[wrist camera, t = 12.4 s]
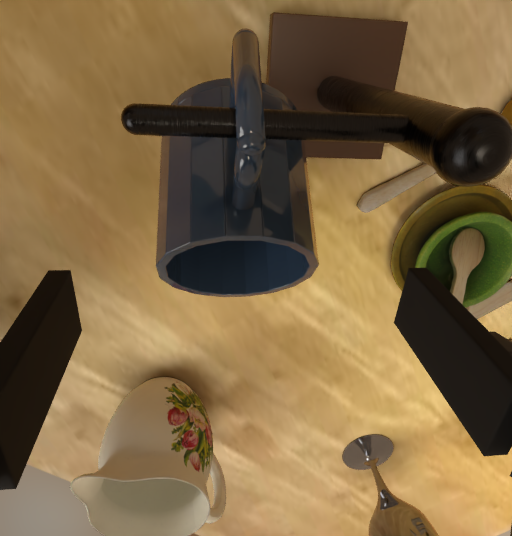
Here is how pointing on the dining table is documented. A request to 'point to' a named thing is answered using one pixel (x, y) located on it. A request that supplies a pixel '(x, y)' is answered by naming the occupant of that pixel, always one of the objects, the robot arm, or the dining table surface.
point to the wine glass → (386, 491)
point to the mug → (235, 194)
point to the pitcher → (154, 466)
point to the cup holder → (349, 103)
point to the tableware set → (455, 238)
